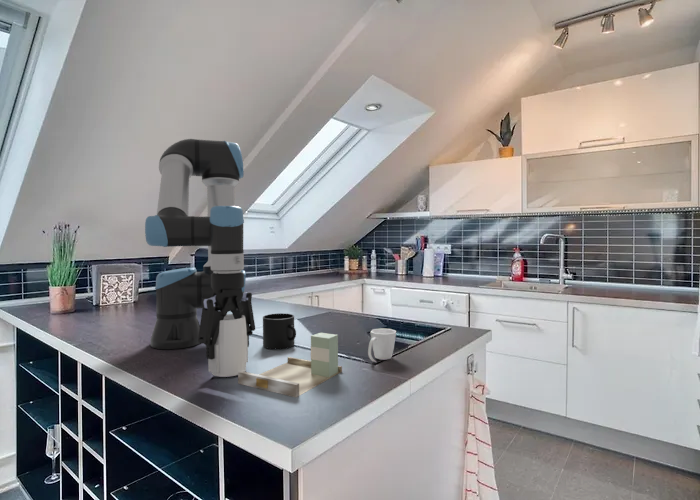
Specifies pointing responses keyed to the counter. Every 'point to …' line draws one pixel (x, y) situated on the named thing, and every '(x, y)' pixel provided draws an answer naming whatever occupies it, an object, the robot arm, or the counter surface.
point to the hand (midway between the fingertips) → (228, 366)
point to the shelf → (285, 378)
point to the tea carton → (324, 354)
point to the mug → (278, 331)
